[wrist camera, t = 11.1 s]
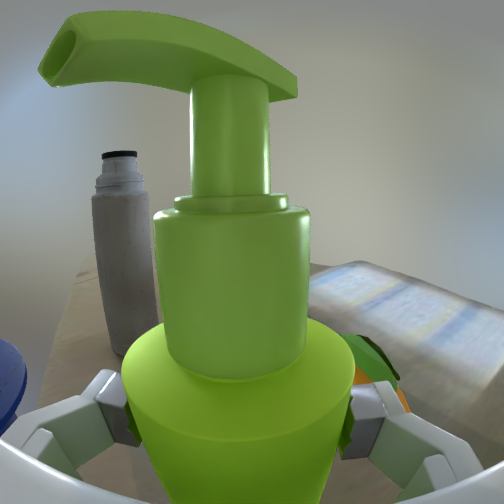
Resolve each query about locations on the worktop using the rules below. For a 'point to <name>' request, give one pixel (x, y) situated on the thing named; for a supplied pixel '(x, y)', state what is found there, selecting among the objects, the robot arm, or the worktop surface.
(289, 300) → the soap dispenser
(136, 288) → the thermos bottle
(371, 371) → the corn
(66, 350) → the worktop surface
